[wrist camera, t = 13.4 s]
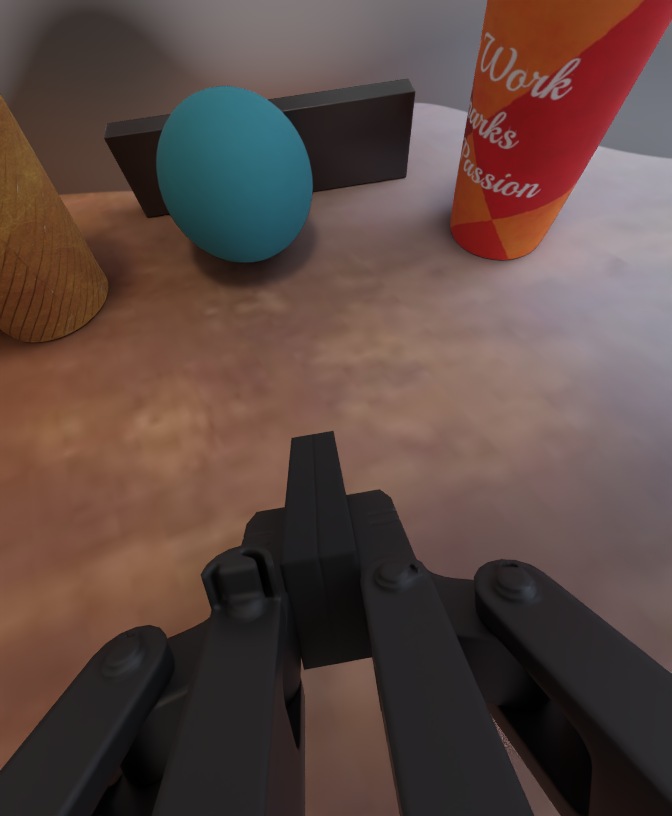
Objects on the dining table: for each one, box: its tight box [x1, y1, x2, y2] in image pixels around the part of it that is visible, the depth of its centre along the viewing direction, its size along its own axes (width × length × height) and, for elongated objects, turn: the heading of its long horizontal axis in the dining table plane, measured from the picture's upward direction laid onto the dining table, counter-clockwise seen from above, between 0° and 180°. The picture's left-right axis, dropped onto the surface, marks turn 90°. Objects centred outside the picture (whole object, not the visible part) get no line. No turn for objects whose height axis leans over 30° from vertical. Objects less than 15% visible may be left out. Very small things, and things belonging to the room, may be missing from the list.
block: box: [104, 79, 415, 217], centre depth 24 cm, size 18×2×5 cm, turn 100°
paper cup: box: [450, 0, 672, 260], centre depth 17 cm, size 8×8×14 cm
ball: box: [156, 86, 313, 263], centre depth 21 cm, size 8×8×8 cm
